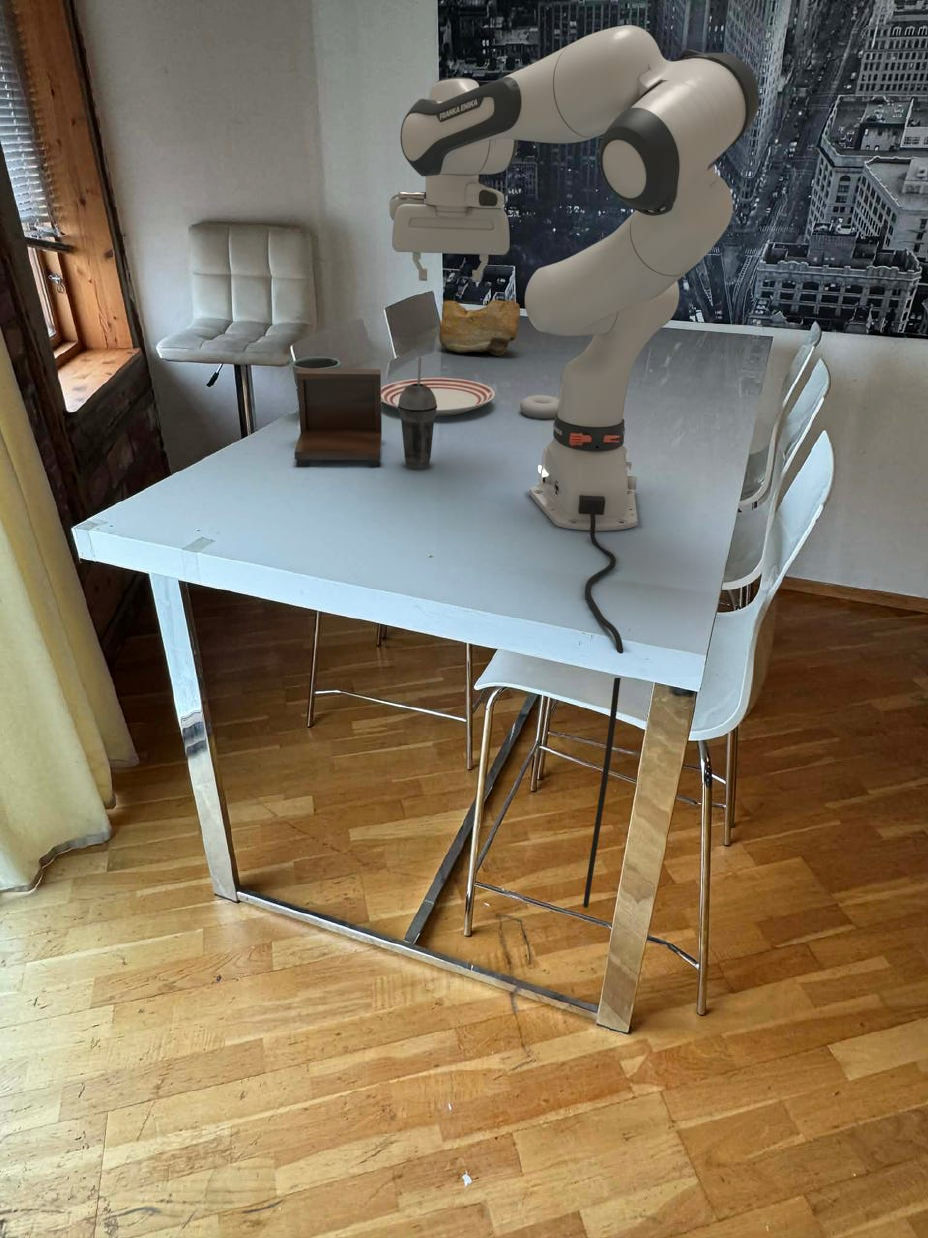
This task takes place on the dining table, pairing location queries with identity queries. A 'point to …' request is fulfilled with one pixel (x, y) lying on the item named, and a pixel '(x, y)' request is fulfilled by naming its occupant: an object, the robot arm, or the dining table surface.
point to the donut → (540, 406)
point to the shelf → (339, 415)
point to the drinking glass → (314, 364)
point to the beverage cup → (417, 423)
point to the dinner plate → (444, 394)
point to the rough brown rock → (479, 327)
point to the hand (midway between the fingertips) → (449, 280)
